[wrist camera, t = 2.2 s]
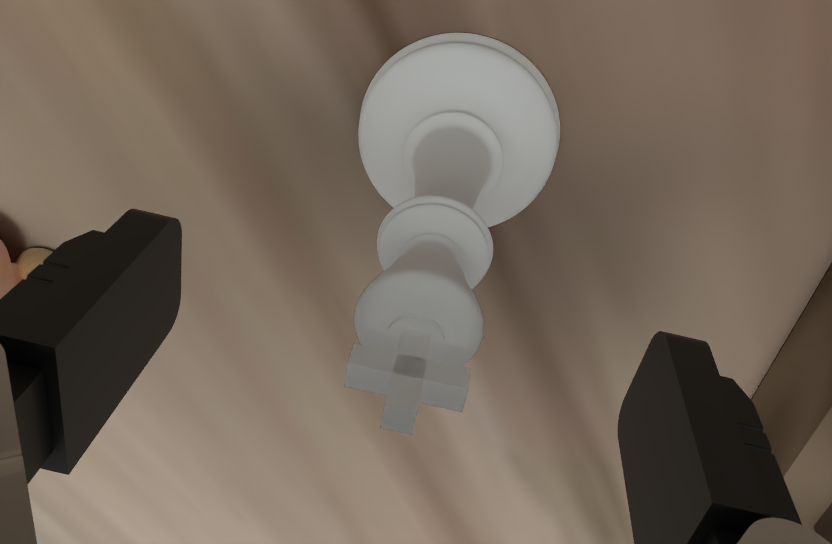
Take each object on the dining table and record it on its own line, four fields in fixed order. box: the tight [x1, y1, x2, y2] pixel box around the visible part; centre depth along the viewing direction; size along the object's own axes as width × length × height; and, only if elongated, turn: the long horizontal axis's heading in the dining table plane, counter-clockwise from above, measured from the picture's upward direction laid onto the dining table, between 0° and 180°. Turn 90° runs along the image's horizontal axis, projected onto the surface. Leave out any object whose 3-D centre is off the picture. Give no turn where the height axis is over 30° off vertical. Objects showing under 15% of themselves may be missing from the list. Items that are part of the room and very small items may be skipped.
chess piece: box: [344, 33, 560, 435], centre depth 14 cm, size 5×5×10 cm
